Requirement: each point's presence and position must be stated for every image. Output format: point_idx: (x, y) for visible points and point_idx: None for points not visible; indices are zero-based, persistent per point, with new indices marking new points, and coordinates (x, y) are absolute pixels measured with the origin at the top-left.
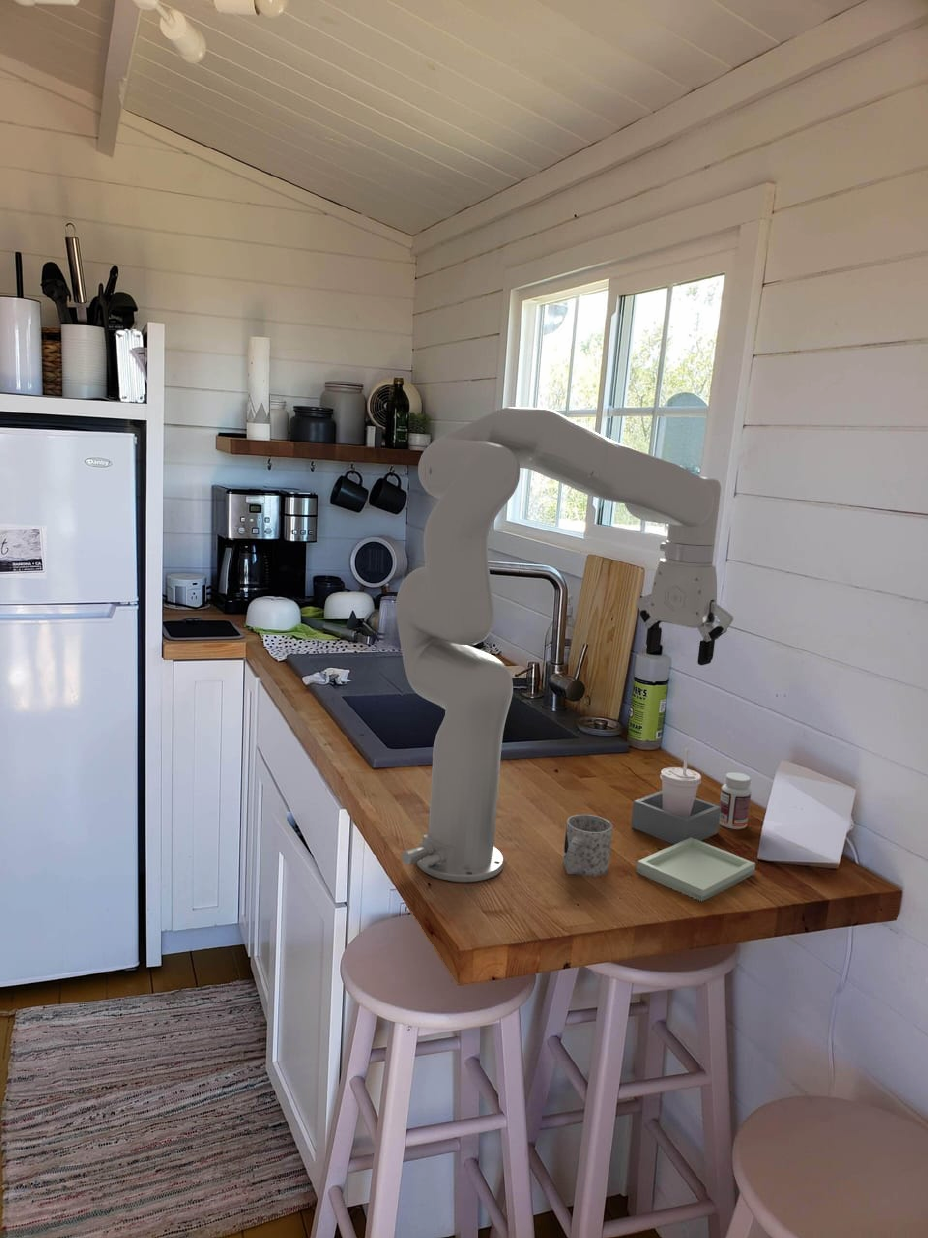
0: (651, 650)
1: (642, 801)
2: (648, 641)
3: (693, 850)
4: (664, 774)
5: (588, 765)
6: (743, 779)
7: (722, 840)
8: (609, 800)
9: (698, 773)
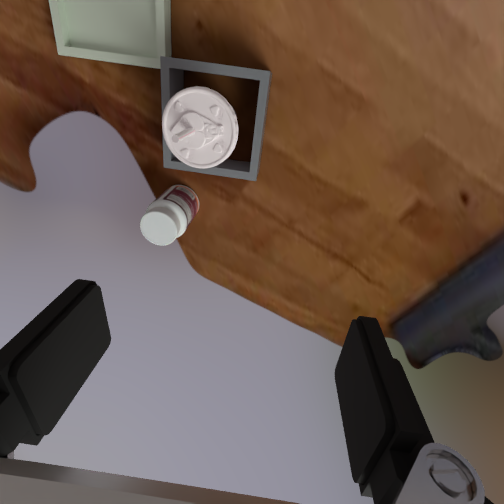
0: (352, 329)
1: (259, 86)
2: (383, 358)
3: (151, 45)
4: (217, 97)
5: (423, 251)
6: (145, 222)
7: (160, 139)
8: (344, 150)
9: (179, 159)
